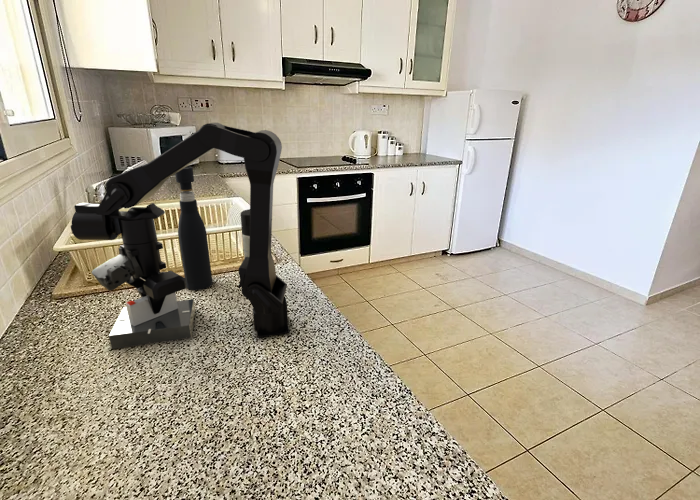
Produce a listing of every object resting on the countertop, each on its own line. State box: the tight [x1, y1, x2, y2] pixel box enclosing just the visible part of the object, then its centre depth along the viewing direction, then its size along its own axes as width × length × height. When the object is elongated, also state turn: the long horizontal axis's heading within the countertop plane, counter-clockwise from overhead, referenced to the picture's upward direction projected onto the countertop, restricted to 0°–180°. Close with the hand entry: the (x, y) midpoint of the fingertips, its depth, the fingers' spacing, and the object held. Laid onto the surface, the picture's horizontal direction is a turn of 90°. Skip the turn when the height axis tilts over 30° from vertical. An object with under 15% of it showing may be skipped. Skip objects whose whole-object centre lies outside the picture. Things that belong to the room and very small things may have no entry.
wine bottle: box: [174, 165, 214, 291], centre depth 91 cm, size 6×6×30 cm
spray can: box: [240, 208, 273, 258], centre depth 92 cm, size 7×7×20 cm
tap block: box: [108, 298, 196, 350], centre depth 77 cm, size 14×13×3 cm
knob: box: [125, 292, 178, 326], centre depth 76 cm, size 9×2×5 cm, turn 142°
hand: (154, 311), depth 76 cm, fingers closed on knob, 2 cm apart
